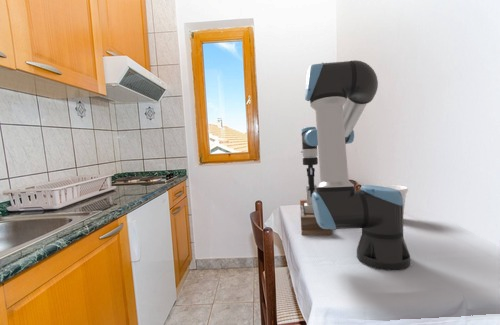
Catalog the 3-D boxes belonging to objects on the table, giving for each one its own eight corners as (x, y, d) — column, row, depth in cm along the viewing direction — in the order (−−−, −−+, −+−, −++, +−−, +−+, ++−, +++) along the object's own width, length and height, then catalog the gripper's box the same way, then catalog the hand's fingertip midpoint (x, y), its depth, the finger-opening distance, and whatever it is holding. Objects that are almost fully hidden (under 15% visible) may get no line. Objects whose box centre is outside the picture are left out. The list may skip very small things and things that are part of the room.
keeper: (320, 213, 130) (319, 186, 129) (304, 213, 131) (303, 186, 130) (319, 210, 136) (318, 184, 135) (304, 210, 137) (303, 184, 136)
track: (331, 235, 104) (330, 218, 103) (301, 234, 106) (300, 218, 106) (322, 211, 139) (322, 198, 139) (300, 211, 141) (300, 199, 141)
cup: (414, 223, 112) (413, 188, 111) (385, 224, 113) (385, 190, 112) (398, 215, 125) (398, 184, 124) (372, 216, 125) (372, 185, 124)
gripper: (302, 156, 141) (304, 198, 142) (302, 158, 124) (305, 205, 125) (316, 155, 139) (318, 198, 141) (318, 157, 122) (320, 205, 124)
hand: (311, 201), depth 133 cm, fingers closed on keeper, 4 cm apart
